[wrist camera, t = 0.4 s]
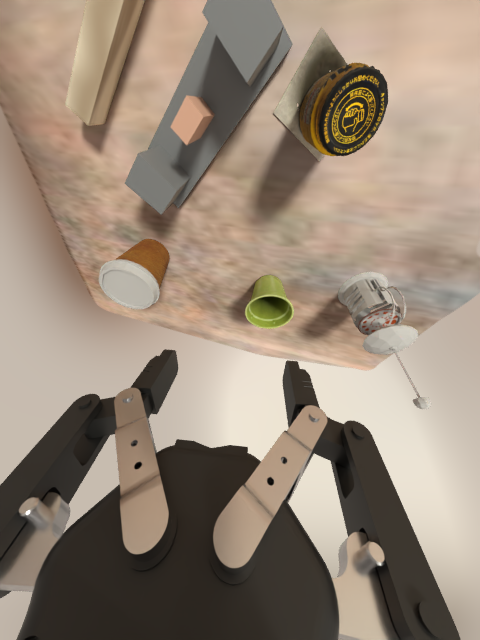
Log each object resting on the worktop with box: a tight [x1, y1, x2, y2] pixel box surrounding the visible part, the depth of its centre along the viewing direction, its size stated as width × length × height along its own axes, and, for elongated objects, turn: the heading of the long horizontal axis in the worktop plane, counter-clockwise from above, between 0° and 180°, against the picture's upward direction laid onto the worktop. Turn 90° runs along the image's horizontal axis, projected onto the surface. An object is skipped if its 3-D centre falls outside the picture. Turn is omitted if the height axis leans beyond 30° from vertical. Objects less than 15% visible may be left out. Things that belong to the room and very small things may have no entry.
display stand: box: [125, 0, 292, 215], centre depth 23 cm, size 7×22×8 cm, turn 135°
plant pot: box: [245, 275, 294, 329], centre depth 42 cm, size 9×9×9 cm
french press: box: [338, 272, 431, 409], centre depth 34 cm, size 10×12×25 cm
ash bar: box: [65, 0, 145, 126], centre depth 19 cm, size 2×20×4 cm, turn 135°
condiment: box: [274, 27, 388, 162], centre depth 20 cm, size 7×8×12 cm
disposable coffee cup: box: [99, 239, 169, 309], centre depth 37 cm, size 10×10×12 cm
